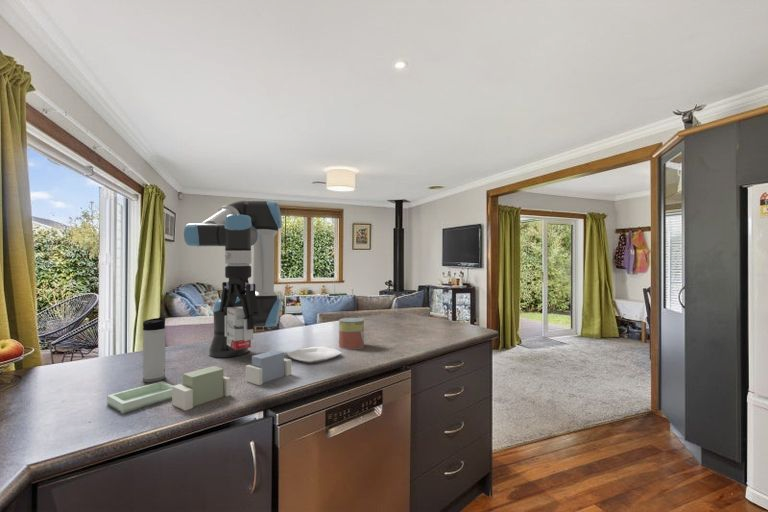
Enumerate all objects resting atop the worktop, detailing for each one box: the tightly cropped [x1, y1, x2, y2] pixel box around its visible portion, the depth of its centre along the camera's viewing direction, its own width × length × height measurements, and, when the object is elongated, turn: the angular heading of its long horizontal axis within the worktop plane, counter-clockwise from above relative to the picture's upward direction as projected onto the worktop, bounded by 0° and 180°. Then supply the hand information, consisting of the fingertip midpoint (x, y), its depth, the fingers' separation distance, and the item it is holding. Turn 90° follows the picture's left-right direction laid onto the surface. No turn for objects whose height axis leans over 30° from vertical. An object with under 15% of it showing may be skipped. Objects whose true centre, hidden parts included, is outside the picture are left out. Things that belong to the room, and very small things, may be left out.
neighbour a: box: [182, 365, 224, 407], centre depth 104 cm, size 5×9×8 cm, turn 145°
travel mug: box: [142, 316, 166, 383], centre depth 121 cm, size 6×7×20 cm
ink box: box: [227, 307, 252, 350], centre depth 113 cm, size 8×5×12 cm, turn 39°
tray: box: [107, 380, 174, 414], centre depth 103 cm, size 10×14×2 cm
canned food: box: [338, 317, 365, 350], centre depth 165 cm, size 11×11×12 cm
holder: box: [171, 357, 292, 412], centre depth 113 cm, size 7×36×5 cm, turn 145°
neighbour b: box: [251, 349, 285, 384], centre depth 122 cm, size 5×9×8 cm, turn 145°
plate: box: [286, 345, 343, 364], centre depth 147 cm, size 19×19×2 cm
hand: (238, 337), depth 113 cm, fingers closed on ink box, 9 cm apart
